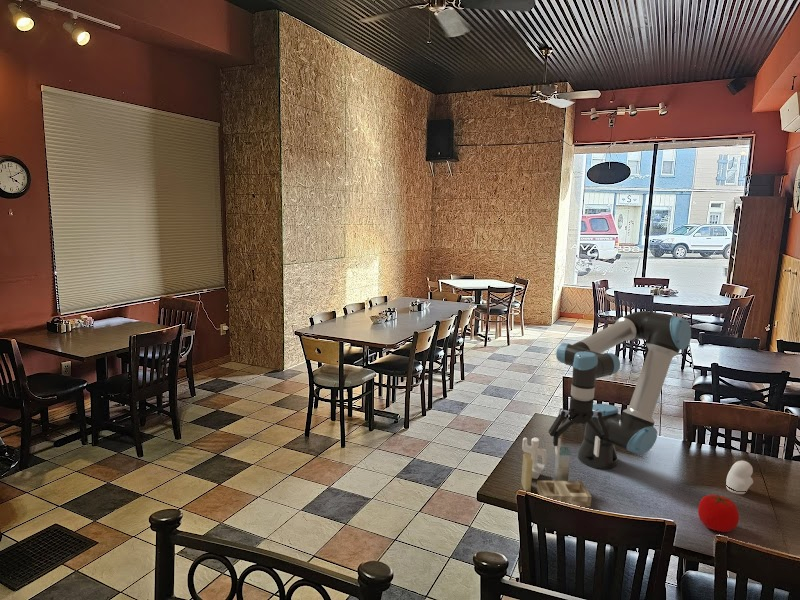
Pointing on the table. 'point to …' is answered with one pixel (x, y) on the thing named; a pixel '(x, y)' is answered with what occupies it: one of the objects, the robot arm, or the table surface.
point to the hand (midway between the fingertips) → (576, 454)
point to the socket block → (565, 492)
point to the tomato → (718, 513)
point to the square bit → (562, 465)
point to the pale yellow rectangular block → (526, 472)
